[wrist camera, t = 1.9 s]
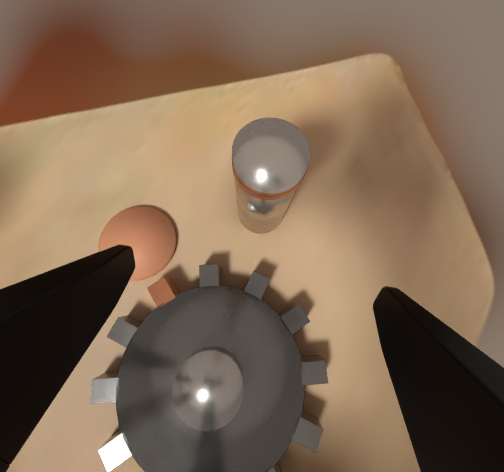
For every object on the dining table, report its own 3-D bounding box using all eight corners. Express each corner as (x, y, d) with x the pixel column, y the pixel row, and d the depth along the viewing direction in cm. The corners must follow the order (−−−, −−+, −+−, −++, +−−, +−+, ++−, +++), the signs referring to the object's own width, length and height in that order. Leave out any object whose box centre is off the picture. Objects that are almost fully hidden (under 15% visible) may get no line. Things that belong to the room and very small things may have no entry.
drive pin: (291, 223, 22) (325, 170, 12) (248, 241, 22) (250, 200, 12) (271, 184, 23) (289, 106, 13) (230, 200, 23) (218, 132, 13)
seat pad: (186, 261, 21) (186, 260, 21) (112, 292, 20) (110, 292, 20) (162, 196, 22) (161, 195, 22) (92, 223, 22) (90, 223, 21)
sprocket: (353, 462, 18) (374, 496, 15) (120, 547, 16) (92, 604, 13) (284, 244, 22) (290, 237, 19) (91, 296, 20) (65, 297, 17)
